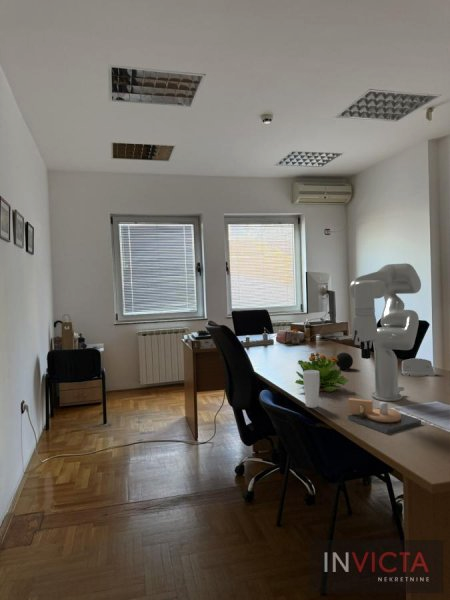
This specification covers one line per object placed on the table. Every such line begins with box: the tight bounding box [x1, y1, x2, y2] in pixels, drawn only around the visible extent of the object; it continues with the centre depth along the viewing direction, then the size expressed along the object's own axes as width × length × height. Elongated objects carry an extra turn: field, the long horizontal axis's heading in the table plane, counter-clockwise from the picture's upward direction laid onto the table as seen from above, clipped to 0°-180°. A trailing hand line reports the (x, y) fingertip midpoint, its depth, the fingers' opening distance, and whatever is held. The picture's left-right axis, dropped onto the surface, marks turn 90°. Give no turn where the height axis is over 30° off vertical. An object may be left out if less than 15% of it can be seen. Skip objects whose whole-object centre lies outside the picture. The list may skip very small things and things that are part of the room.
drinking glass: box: [302, 370, 320, 409], centre depth 171 cm, size 7×7×15 cm
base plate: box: [347, 406, 422, 435], centre depth 150 cm, size 18×18×6 cm
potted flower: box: [294, 352, 350, 393], centre depth 199 cm, size 25×24×18 cm
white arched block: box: [400, 357, 436, 377], centre depth 222 cm, size 17×5×10 cm, turn 81°
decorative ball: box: [335, 352, 354, 370], centre depth 241 cm, size 10×10×10 cm
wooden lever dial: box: [348, 397, 402, 422], centre depth 152 cm, size 12×18×6 cm, turn 62°
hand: (365, 358), depth 161 cm, fingers closed
